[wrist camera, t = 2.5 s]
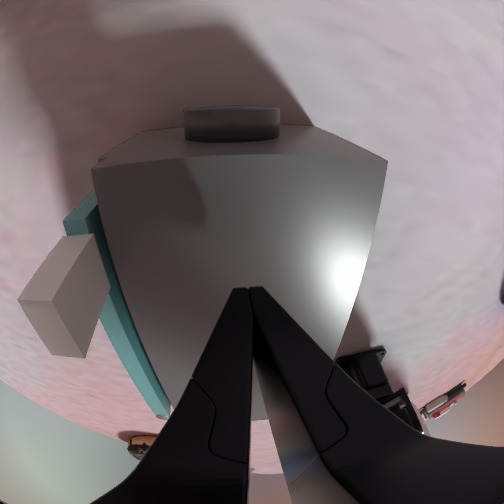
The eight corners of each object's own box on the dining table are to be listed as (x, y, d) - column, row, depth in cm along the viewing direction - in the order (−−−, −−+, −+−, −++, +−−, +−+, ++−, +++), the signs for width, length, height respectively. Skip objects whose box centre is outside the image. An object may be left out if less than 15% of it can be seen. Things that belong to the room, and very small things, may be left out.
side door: (178, 342, 23) (173, 462, 14) (163, 343, 23) (153, 461, 14) (141, 160, 15) (42, 282, 5) (119, 163, 14) (8, 282, 5)
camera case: (290, 336, 25) (310, 412, 18) (180, 343, 24) (176, 423, 17) (315, 107, 14) (392, 127, 8) (140, 111, 13) (75, 135, 7)
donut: (198, 448, 42) (199, 466, 39) (151, 451, 44) (150, 467, 40) (164, 431, 36) (164, 452, 33) (115, 434, 38) (113, 452, 34)
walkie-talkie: (464, 377, 46) (396, 420, 51) (471, 390, 43) (402, 434, 47) (462, 386, 51) (401, 424, 55) (469, 398, 47) (406, 437, 52)
